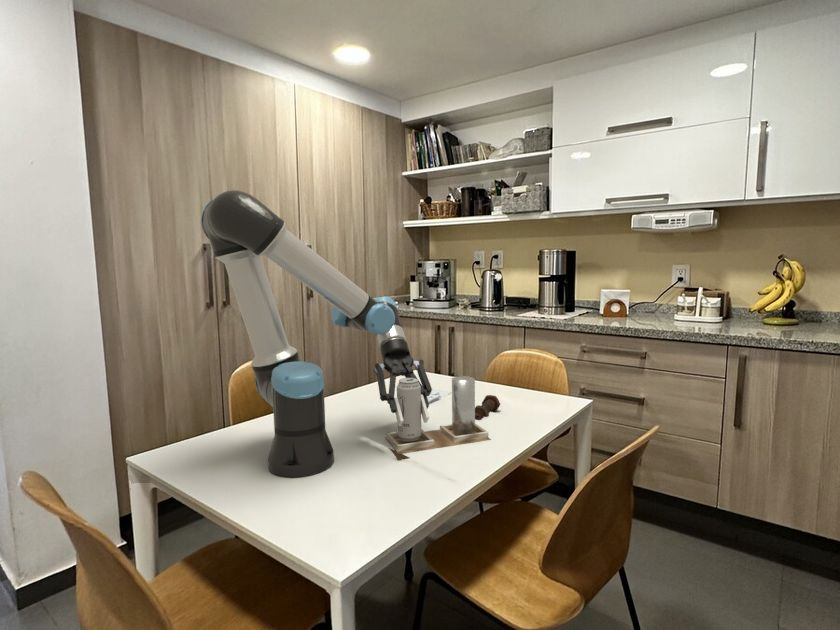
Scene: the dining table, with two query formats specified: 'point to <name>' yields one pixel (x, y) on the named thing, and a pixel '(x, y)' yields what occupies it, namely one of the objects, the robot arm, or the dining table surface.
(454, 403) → the cylinder
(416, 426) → the energy drink can
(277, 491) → the dining table surface
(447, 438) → the tray
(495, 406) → the bolt
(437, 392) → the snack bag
